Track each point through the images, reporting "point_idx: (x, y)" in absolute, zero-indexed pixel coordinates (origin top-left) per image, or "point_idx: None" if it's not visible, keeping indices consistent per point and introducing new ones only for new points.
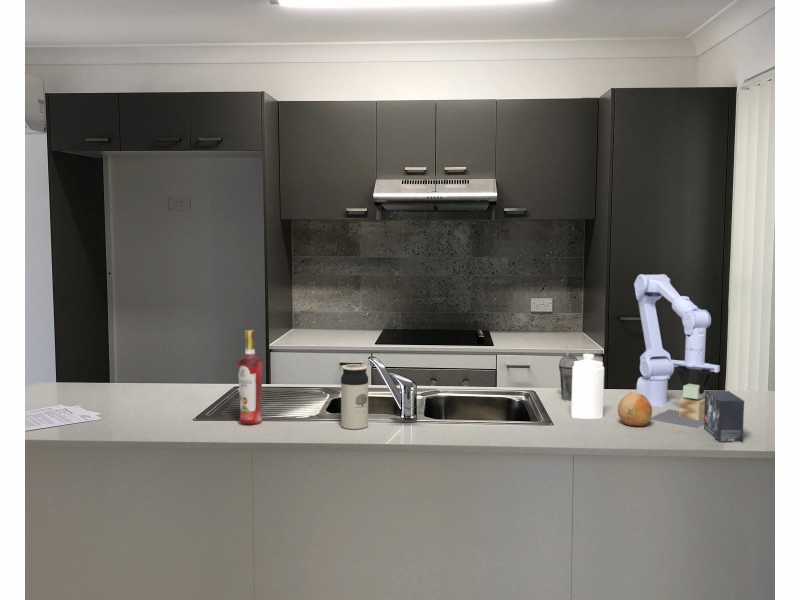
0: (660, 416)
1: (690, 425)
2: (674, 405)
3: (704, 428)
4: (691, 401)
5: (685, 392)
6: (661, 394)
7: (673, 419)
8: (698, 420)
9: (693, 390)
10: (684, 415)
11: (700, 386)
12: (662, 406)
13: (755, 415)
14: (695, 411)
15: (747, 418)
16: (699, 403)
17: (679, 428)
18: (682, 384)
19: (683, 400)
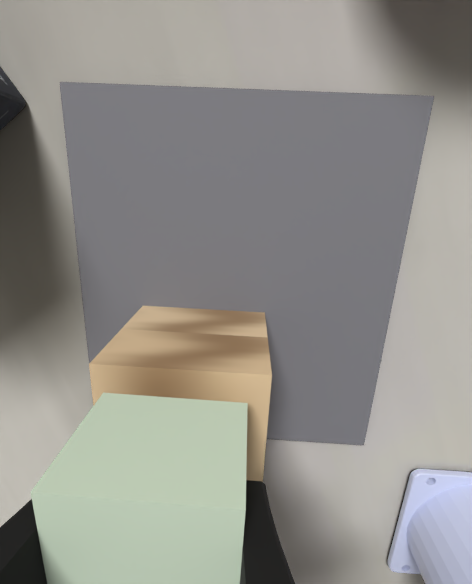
0: (367, 240)
1: (120, 121)
2: (366, 547)
3: (5, 80)
4: (161, 365)
5: (218, 435)
6: (468, 568)
7: (269, 216)
8: (139, 297)
9: (113, 459)
10: (229, 315)
11: (10, 544)
12: (414, 475)
13: None
14: (148, 328)
15: (5, 505)
16: (95, 363)
17: (161, 13)
18: (274, 554)
19: (236, 369)
